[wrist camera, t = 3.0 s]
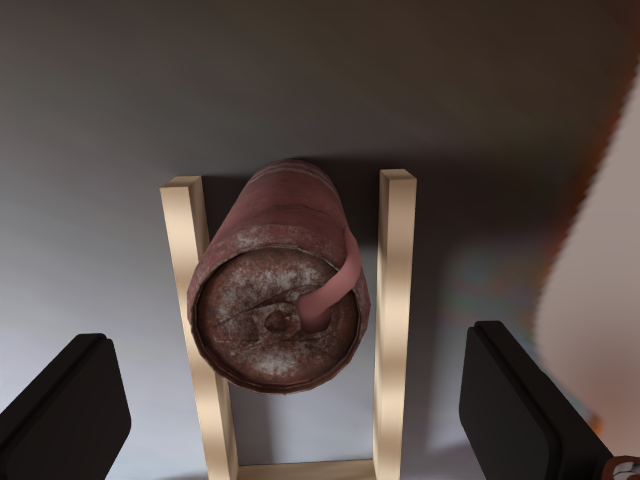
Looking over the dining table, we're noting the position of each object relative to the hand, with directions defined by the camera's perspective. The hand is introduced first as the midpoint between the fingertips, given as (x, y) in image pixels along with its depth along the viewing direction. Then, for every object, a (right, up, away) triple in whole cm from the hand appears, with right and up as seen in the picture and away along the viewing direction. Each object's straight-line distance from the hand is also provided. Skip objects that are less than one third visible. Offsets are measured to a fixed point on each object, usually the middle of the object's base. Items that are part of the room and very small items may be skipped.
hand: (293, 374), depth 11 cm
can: (-1, +6, +15) cm, 16 cm away
